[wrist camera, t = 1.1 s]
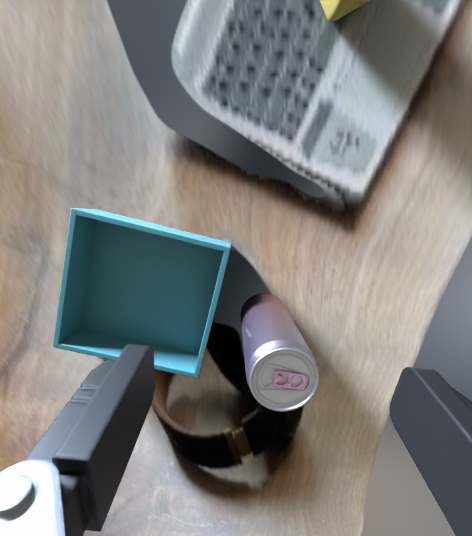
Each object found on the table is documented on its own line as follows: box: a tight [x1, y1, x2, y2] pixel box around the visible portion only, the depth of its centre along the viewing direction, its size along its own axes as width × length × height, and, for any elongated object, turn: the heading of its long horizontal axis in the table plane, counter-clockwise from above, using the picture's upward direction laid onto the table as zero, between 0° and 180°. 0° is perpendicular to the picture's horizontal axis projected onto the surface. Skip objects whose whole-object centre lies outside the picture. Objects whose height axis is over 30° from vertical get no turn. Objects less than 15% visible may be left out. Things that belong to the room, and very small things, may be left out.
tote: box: [53, 208, 231, 378], centre depth 33 cm, size 17×16×5 cm
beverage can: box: [241, 293, 319, 411], centre depth 29 cm, size 6×6×15 cm
